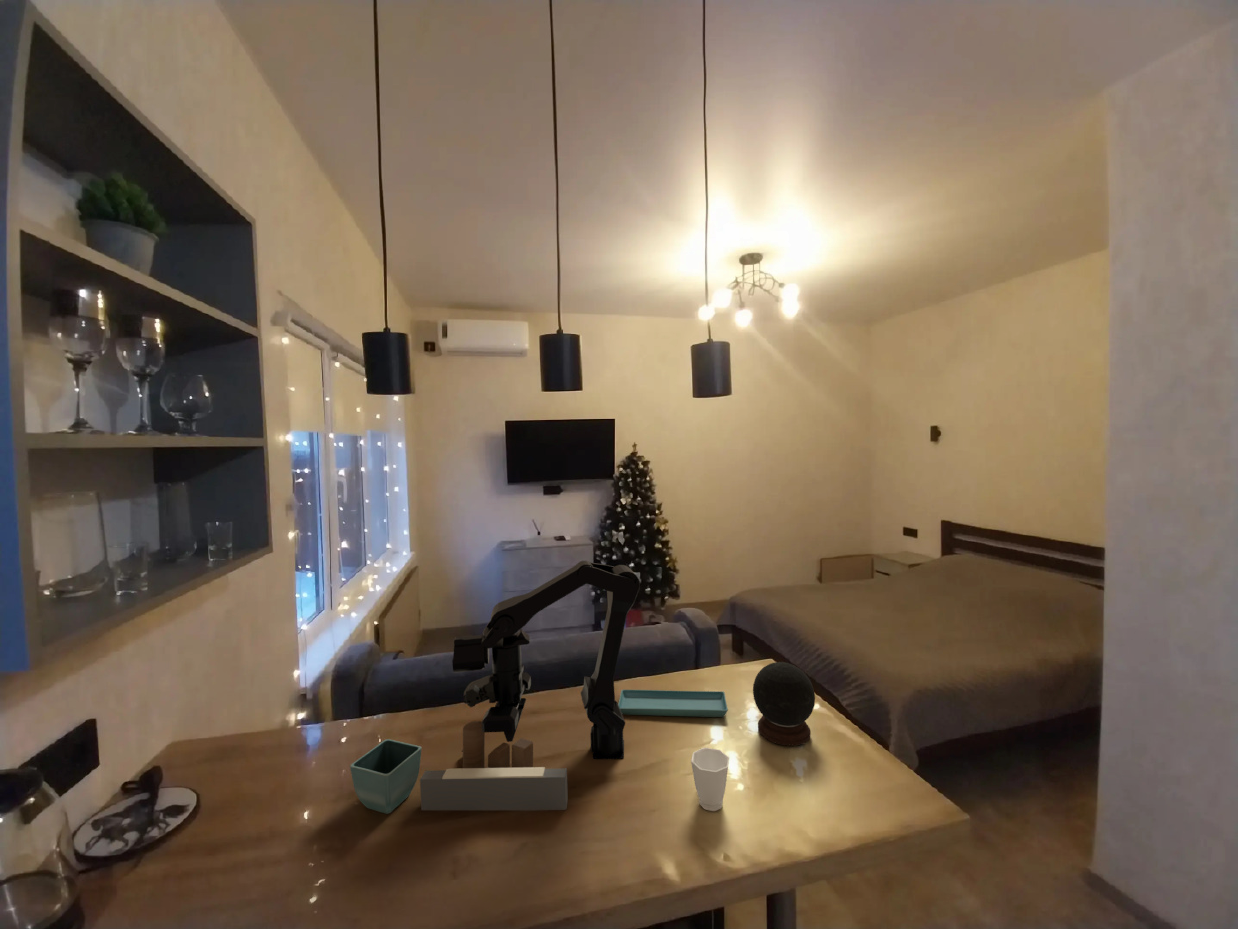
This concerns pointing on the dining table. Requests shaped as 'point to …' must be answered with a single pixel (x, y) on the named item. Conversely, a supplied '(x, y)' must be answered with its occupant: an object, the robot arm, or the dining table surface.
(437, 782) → the board
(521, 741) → the wooden block set
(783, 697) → the ball on wooden stand
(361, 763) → the flower pot
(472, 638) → the robot arm
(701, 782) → the cup
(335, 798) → the dining table surface
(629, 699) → the shallow long dish
